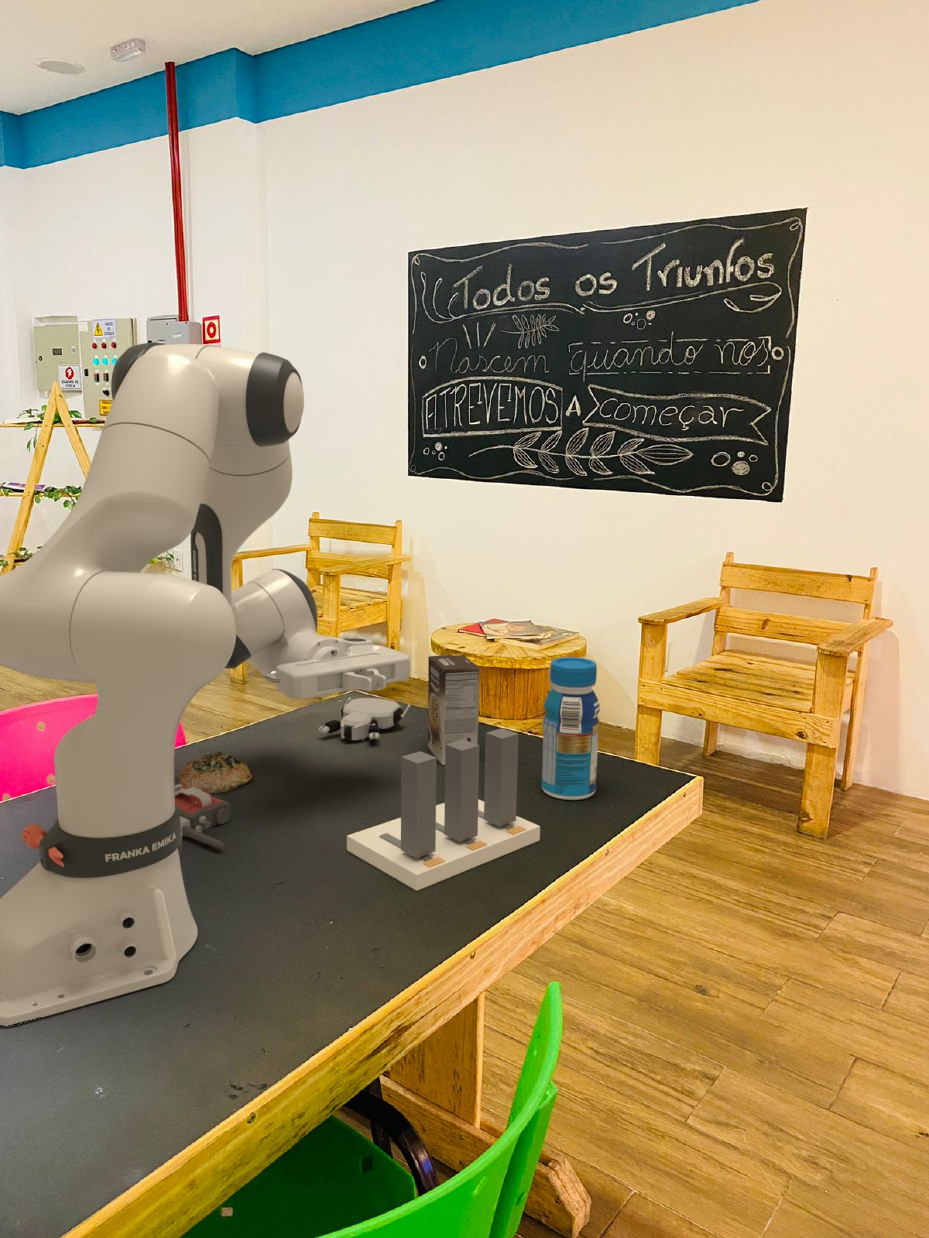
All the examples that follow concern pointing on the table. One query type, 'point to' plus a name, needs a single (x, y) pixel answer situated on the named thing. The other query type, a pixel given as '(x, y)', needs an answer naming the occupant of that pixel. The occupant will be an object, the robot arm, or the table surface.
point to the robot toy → (365, 718)
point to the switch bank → (439, 848)
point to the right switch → (501, 777)
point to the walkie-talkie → (200, 813)
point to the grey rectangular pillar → (461, 790)
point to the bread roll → (215, 773)
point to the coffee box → (452, 702)
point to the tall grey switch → (418, 804)
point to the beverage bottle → (571, 730)
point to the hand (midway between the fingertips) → (377, 684)
